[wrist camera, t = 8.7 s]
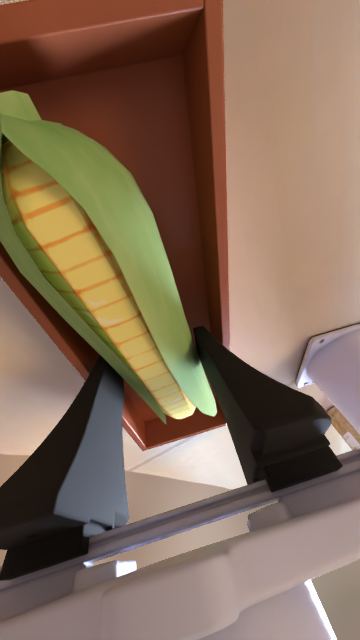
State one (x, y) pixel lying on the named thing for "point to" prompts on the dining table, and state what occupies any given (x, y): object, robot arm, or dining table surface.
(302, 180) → the dining table surface
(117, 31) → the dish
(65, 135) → the edible corn
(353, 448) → the sprinkles bottle
